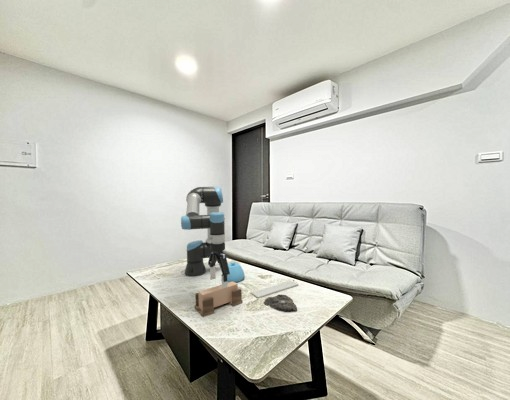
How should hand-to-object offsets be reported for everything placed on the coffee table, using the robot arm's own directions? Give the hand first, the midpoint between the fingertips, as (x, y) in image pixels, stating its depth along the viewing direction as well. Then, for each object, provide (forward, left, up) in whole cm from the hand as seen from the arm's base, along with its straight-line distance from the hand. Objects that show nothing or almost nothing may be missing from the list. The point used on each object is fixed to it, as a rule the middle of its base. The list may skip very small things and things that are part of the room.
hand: (218, 283), depth 112 cm
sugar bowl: (-27, +24, -12) cm, 38 cm away
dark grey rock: (+19, +27, -12) cm, 35 cm away
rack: (0, 0, -11) cm, 11 cm away
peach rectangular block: (0, 0, -10) cm, 10 cm away
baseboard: (+3, +35, -12) cm, 37 cm away
